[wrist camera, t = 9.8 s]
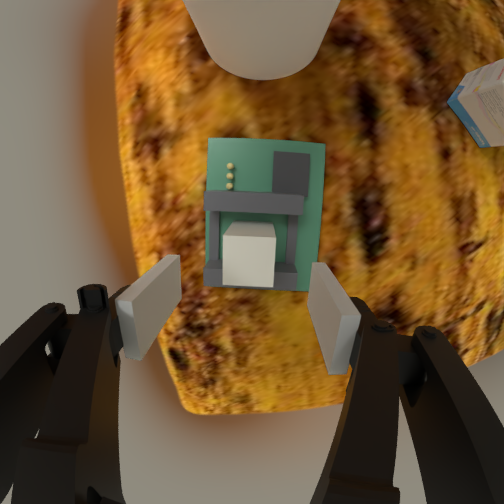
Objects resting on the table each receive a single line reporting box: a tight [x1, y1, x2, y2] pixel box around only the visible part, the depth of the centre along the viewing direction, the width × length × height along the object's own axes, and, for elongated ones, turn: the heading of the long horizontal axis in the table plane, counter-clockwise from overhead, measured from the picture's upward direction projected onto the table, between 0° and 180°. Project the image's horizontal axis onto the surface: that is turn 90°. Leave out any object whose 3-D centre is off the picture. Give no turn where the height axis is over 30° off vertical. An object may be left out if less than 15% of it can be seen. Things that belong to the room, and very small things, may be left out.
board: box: [203, 138, 325, 291], centre depth 27 cm, size 16×12×5 cm
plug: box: [223, 220, 276, 287], centre depth 25 cm, size 4×4×8 cm
